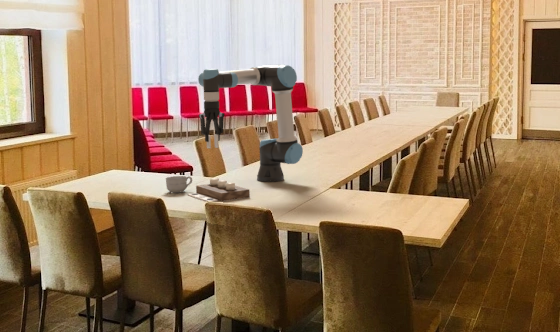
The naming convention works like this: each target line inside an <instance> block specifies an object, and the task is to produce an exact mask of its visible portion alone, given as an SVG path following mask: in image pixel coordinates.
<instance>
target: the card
mask: <svg viewBox="0 0 560 332" xmlns="http://www.w3.org/2000/svg"><path fill="white" fill-rule="evenodd" d="M187 196H189V197H192V198H194V199H198V200H201V201H203V202H206V201H214V202H218V201H219V200H217V199H214V198H211V197H208V196H204V195H201V194H198V193H196V192H195V193H187Z"/></svg>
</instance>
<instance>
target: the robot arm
mask: <svg viewBox="0 0 560 332" xmlns="http://www.w3.org/2000/svg"><path fill="white" fill-rule="evenodd" d="M197 79H198V80H197V81H198V84H199V85H200V86H201V87H203V100H204V101H203V112H202V113H201V114H198V117H199V119H200V120H199V121H200V132H201V134H202V135H204V141H205V142H206V149H212V146H211V143H212V142H211V135H210V130H211V124H212V123H211V122H213V126H214V131H215V134H213V135H214V136H213V137H214V141H213V142H214V148H216V149H217V148H218V149H219V141H220V140H221V137H220V136H221V134H222V133H224V118H225V113H224V112H221V110H220V101H219V100H220V89H225V88H227V89H228V88H230V89H231V88H235V87H237V86H238V85H240V86H241V85H252V86H265V87H271V92H272V93H274V98H275V110H276V120H277V133H278V134H277V135H278V138H270V139H262V140H260V141H259V169H258V172H257V174H256V180H257V181H259V182H268V183H269V182H280V181H284V180H285V175H284V172H283V169H282V166H281V164H287V165H294V164H297V163H298V162H300V160H301V158H302V157H303V152H304V151H303V147H302V146H303V145H301V143H298V137H296V136H295V129H294V117H293V116H294V115H293V105H292V92H293V90H294V87H295V85H296V83H297V80H298V76H297V72H296V70H295V69H294V67H292V66H291V65H288V64H266V65H261V66H254V67H251V68H249V69H239V70H237V69H236V70H223V71H219V69H217V68H205V69H203V72H201V73H200V74H199V76H198V78H197Z"/></svg>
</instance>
